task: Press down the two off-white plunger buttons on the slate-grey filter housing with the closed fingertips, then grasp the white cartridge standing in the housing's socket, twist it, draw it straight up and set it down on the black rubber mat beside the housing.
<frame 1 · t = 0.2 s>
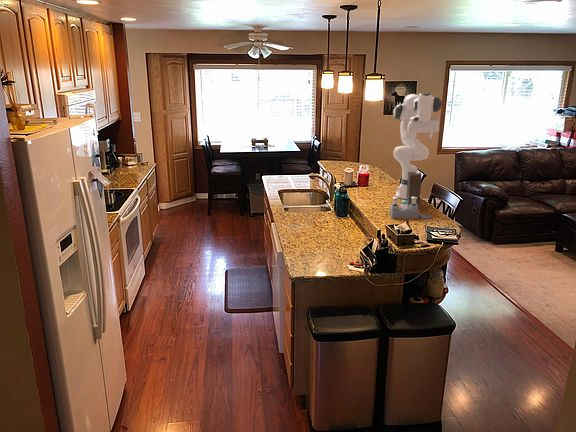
hand: (422, 139, 304), 48 cm above the counter, fingers open, 8 cm apart
housing: (403, 216, 301), on the counter
mat: (424, 217, 298), on the counter
cartridge: (403, 216, 301), resting in housing
plunger front: (395, 201, 298), point 10 cm above the counter, slide at 0.0 cm
grey upright box: (412, 206, 323), on the counter
plunger back: (413, 201, 298), point 10 cm above the counter, slide at 0.0 cm
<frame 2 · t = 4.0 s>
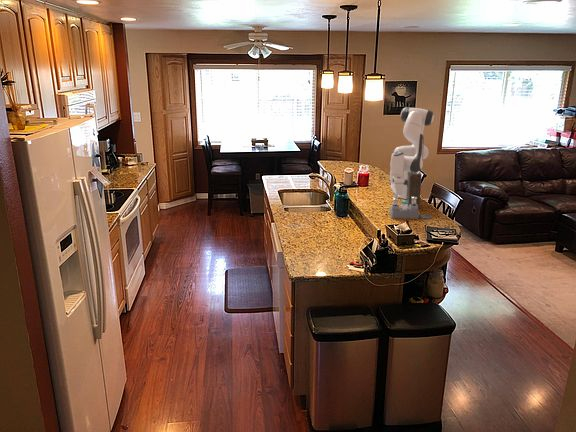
hand: (395, 198, 297), 12 cm above the counter, fingers closed, pressing on plunger front
plunger front: (395, 202, 298), point 9 cm above the counter, slide at 0.8 cm, touching gripper
everything else where it was.
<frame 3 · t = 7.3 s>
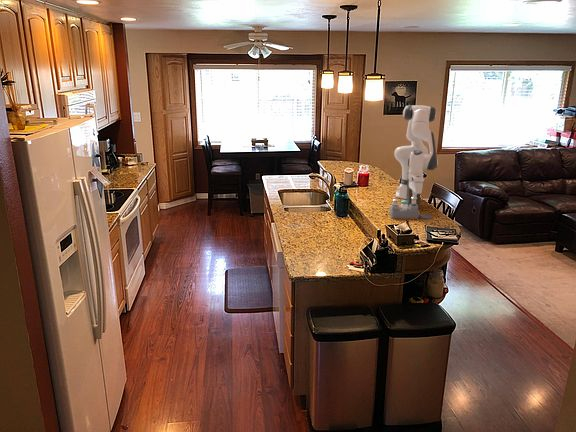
hand: (414, 197, 297), 13 cm above the counter, fingers closed, pressing on plunger back
plunger front: (395, 204, 299), point 8 cm above the counter, slide at 1.5 cm
plunger back: (413, 201, 298), point 10 cm above the counter, slide at 0.2 cm, touching gripper
everything else where it was.
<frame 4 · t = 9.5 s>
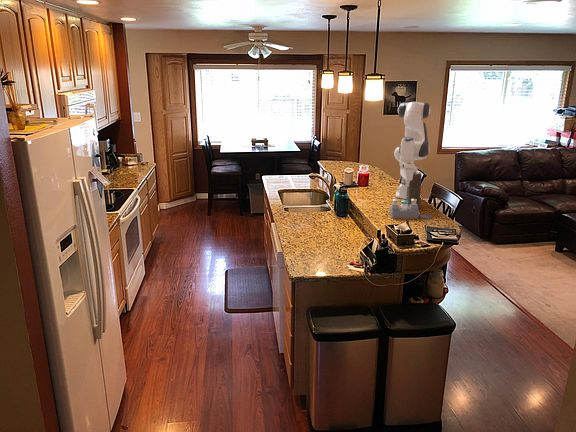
hand: (405, 184, 295), 21 cm above the counter, fingers open, 8 cm apart
plunger back: (413, 203, 298), point 8 cm above the counter, slide at 1.5 cm
everything else where it was.
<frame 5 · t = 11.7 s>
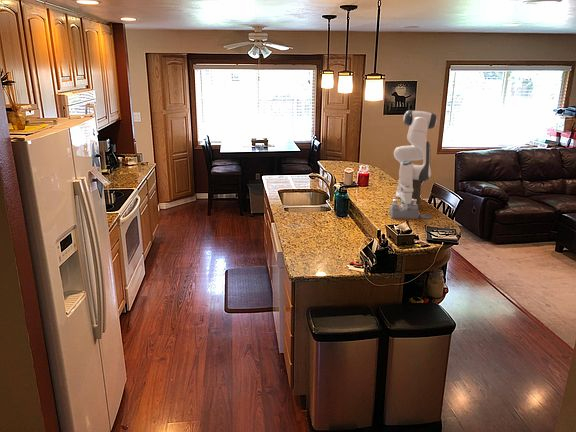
hand: (404, 207, 299), 6 cm above the counter, fingers closed on cartridge, 4 cm apart
cartridge: (403, 216, 301), resting in housing, touching gripper
everything else where it was.
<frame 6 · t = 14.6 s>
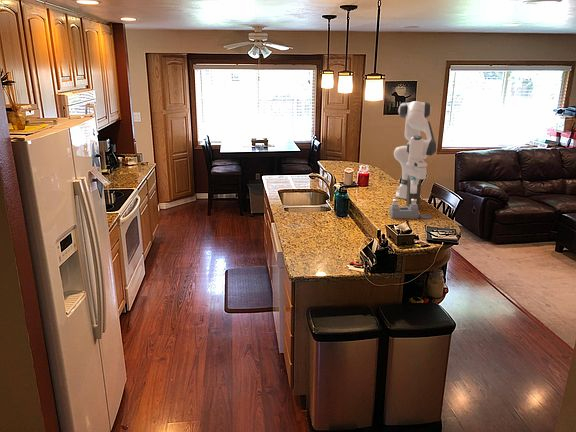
hand: (414, 183, 293), 22 cm above the counter, fingers closed on cartridge, 4 cm apart
cartridge: (413, 192, 295), point 16 cm above the counter, touching gripper
everything else where it was.
when the fingers open (9 cm above the counter, at t = 18.0 s): cartridge drops 2 cm, resting on mat.
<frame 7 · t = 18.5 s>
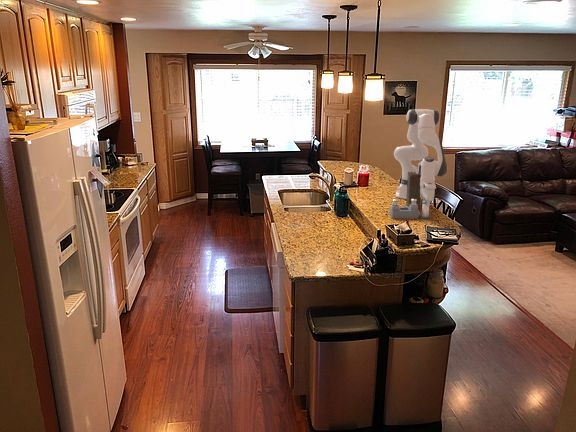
hand: (425, 204, 295), 9 cm above the counter, fingers open, 8 cm apart
cartridge: (425, 216, 297), point 1 cm above the counter, touching mat
everything else where it was.
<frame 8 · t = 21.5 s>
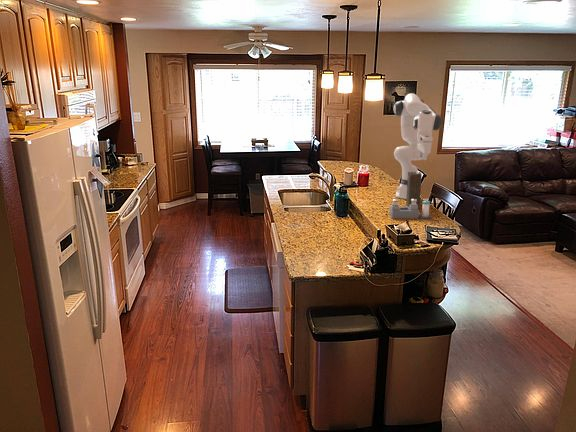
hand: (422, 158, 294), 37 cm above the counter, fingers open, 8 cm apart
nothing on the counter moved.
at the end: cartridge inside the target area on the mat (0.4 cm from its centre), point 0.6 cm above the mat's base; cartridge tilted 0°; plunger back slide at 1.5 cm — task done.
